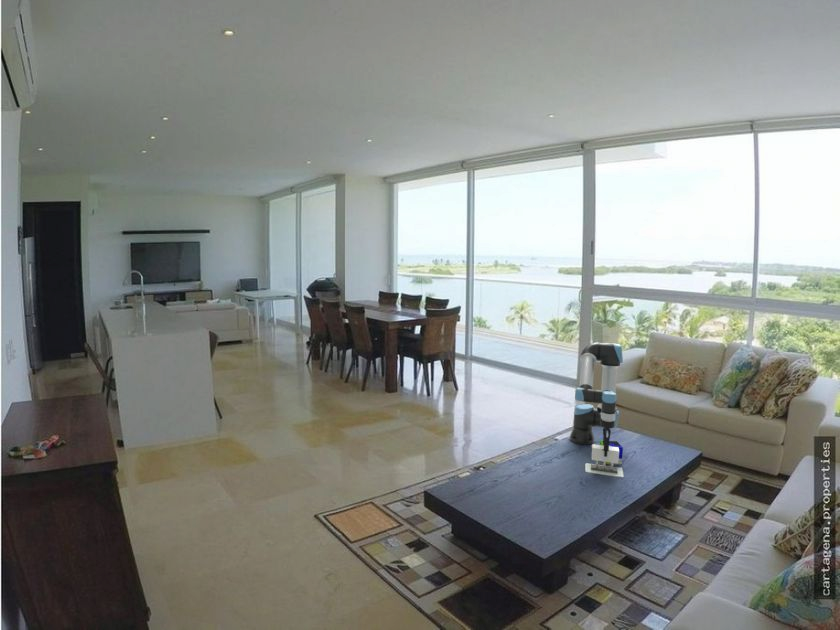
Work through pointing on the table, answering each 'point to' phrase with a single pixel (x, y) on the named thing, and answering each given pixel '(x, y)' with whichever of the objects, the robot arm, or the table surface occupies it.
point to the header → (604, 469)
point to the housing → (598, 453)
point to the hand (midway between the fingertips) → (604, 459)
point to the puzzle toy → (616, 444)
